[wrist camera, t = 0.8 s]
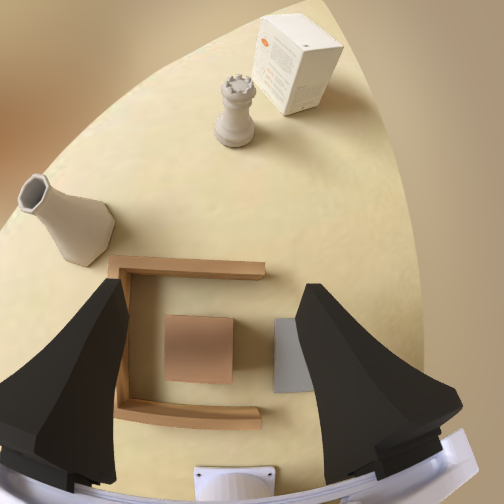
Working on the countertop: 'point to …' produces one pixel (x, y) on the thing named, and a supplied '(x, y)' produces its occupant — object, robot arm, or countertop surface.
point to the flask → (68, 220)
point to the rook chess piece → (236, 112)
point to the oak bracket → (122, 402)
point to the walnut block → (198, 349)
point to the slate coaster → (289, 359)
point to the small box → (293, 61)
